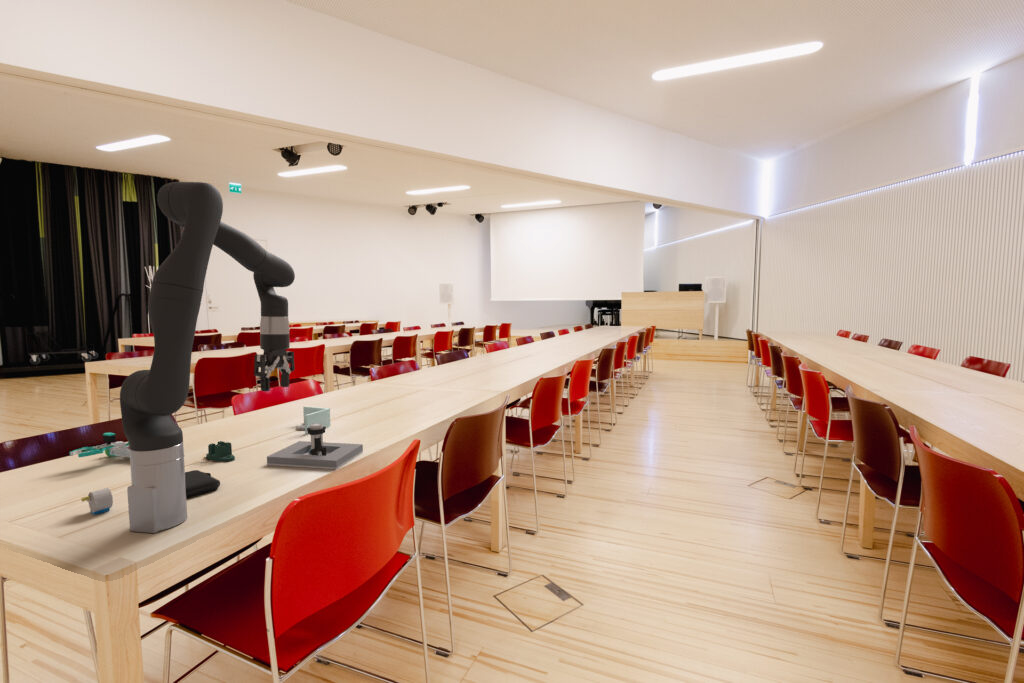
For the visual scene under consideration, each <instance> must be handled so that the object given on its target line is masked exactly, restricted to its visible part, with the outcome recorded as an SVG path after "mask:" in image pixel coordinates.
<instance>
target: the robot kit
mask: <svg viewBox="0 0 1024 683" xmlns="http://www.w3.org/2000/svg"><path fill="white" fill-rule="evenodd" d="M102 439H103V440H102V441H103V442H104V443H103V444H99V445H96V446H95V445H94V446H83V447H80V448H76V449H74V450H72V451H71V450H70V451H68V452H69V457H71V456H75V455H78V458H84V457H89V456H95V455H100V454H103V453H105V455H106V456H107V457H112V458H113V457H117V456H118V457H124V458H129V459H130V449H129V442H128V441H127V442H124V441H121V440H120V441H118V440H117V439H116V433H114V432H104V433H103V434H102ZM116 440H117V441H116Z"/></svg>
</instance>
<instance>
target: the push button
mask: <svg viewBox="0 0 1024 683" xmlns="http://www.w3.org/2000/svg"><path fill="white" fill-rule="evenodd" d="M326 429H327V428H326V427H325V426H323V424H321V423H316V424H311V425H310V427H309V428H307V431H308V434H307V435H309V436H310V442H311V449H310V450H309V454H308V455H319V456H326V447H322V446H323V442H324V440H323V439H324V438H323V437H324V436H323V435H324V433H325V434H326Z"/></svg>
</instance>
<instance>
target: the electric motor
mask: <svg viewBox="0 0 1024 683" xmlns="http://www.w3.org/2000/svg"><path fill="white" fill-rule="evenodd" d="M112 494H113V493H112V491H111V489H110V488H109V487H106V488H101V489H97V490H93V491H90V492H89V493H88V495H87V496H85V497H81V498H80V499H81V502H87V503H88V507H89V509H90V510H89V511H90V514H91V515H93V516H96V515H99V514H102V513H106V512H109V511H110V509H111V508H112V507H113V503H114V500H113V495H112Z"/></svg>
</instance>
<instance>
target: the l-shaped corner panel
mask: <svg viewBox="0 0 1024 683" xmlns="http://www.w3.org/2000/svg"><path fill="white" fill-rule="evenodd" d="M302 408H303V410H302V412H303V423H300V424H298V425H296V429H297V431H305V432H304V433H305V434H304V435H309V434H308V431H307V428H309V427H310V425H311V424H316V423H321V424H323V426H325V427H326V429H327V428H329V427H331V408H329V407H328V408H326V407H319V406H318V407H316V406H306V405H305V406H303V407H302Z"/></svg>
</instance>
